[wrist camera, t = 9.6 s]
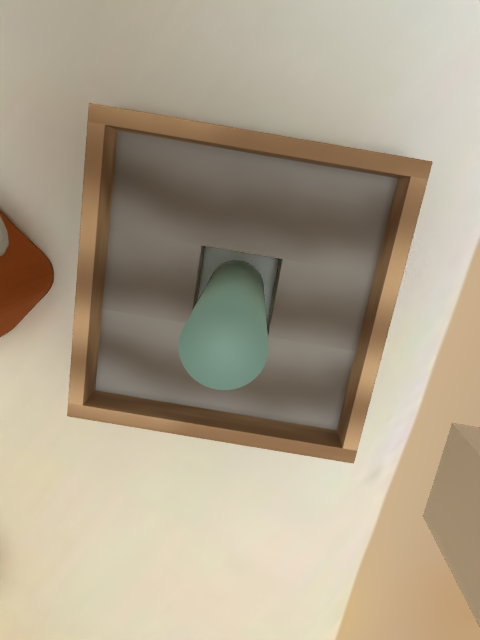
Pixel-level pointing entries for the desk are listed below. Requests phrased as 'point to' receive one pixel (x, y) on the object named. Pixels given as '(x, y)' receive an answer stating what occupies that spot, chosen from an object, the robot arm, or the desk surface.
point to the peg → (227, 329)
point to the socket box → (248, 237)
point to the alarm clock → (20, 275)
